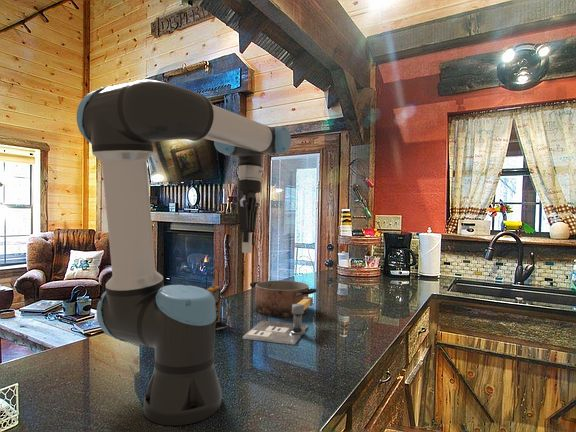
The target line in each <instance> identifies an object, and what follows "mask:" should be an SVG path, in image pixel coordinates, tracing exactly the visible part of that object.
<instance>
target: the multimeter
mask: <svg viewBox="0 0 576 432" xmlns="http://www.w3.org/2000/svg"><path fill="white" fill-rule="evenodd" d="M216 269H217V271H218V276H217V285H216V279H215V278H216V277H215V276H216V274H215V273H216V272H215V268H213V270H212V269H209V270H207V272H206V280H205V281H206V282H205V289H206V290H208V291H209V292H211V293H212V295H213V296H214V299H215V308H216V323H215V325H216V324H217V323H219V322H220V320H225V321H223V322H222V323H223V324H224V325H226V326H221V327H217V328H216V327H215V331H216V330H222V329H224V328H225V329H226V327H230V328H232V326H231V324H229V323H227V322H228V320H227V319H226V318H222V317H221V290H222V287H221V286H220V284H219V282H220V281H219V280H220V270H219V268H218V267H216ZM209 271H211V273H212V283H211V286H210V287H208V284H207V283H208V274H209Z"/></svg>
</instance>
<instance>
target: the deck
mask: <svg viewBox="0 0 576 432" xmlns="http://www.w3.org/2000/svg"><path fill="white" fill-rule="evenodd" d="M292 319H293V323H291V322H290V323H289V322H280V321H272V320H271V321H270V320H264V319H262V320H261V321H259V322H258V323H257V324H255V326H254V327H252V328H251V329H250V330H249V331H247V332H246V333H245V334H244V335H243V336H242V339H243V340H249V341H251V340H252V341H257V342H258V341H259V342H268V343H275V344H283V345H291V346H293V345H294V346H296V344H297V343H298V341H299V339H300V338H301V337H302V335H305V334H306V330H307V328H308V324H303V322H302V320H303V315H302V314H294V315H293V318H292ZM269 326H274V327H283V328H289V330H288V331H287V332H286V333H285V334H283V333H274V332H273V333H272V334H271V335H270V336H269V337H268V338H263V337H254V336H247V334H248V333H249V332H250V331H252V330H258V331H265V330H266V329H267V328H268V327H269Z"/></svg>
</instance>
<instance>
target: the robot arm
mask: <svg viewBox="0 0 576 432" xmlns="http://www.w3.org/2000/svg"><path fill="white" fill-rule="evenodd" d="M76 125H77V127H78V130H79V132H80V134H81V135H82V136H83V137H85V140H86V141H87V142H88V143H90V144H91V152H92V155H93V156H94V157H95V158H97V159H98V160H99V161H100V163H101V169H102V179H103V189H104V198H105V199H104V201H105V209H106V210H105V211H106V221H107V222H106V223H107V231H108V241H109V242H108V243H109V254H110V264H111V274H112V275H111V277H110V278H109V279H108V280H107V282H106V283H105V291H104V292H103V293H102V294H101V296H100V298H101V299H100V300H99V301H98V302H97V306H96V320H97V323H98V325H99V327H100V329H101V331H103V332H104V334H106V335H108V336H109V337H112V338H114V339H115V340H119V341H120V342H127V343H128V342H129V343H133V344H137V345H140V346H141V345H142V346H144V347H147V348H148V347H149V348H153V349H154V363H153V366H154V369H153V372H152V375H151V377H150V380H149V382H148V385H147V386H148V387H147V389H146V392H145V394H144V397H143V407H142V408H143V409H142V411H143V415H144V416H145V418H147V420H149V421H151V422H152V423H155V424H158V425H162V426H185V425H190V424H195V423H198V422H201V421H204V420H206V419H208V418H209V417H212V416H213V415H214V414H216V413H217V412H218V411H219V409H220V407H221V406H222V395H223V393H222V388H221V385H220V380H219V377H218V375H217V374H218V373H217V370H216V368H215V367H216V366H215V346H216V344H215V342H216V330H215V329H216V324H217V323H216V308H215V299H214V296H213V295H212V293H211V292H209V291H208V290H206V288H203V287H199V286H196V285H185V284H170V285H165V283H164V276H163V275H162V274H161V273H160V272H158V271H157V270H156V266H155V265H156V263H155V262H156V261H155V250H154V249H155V248H154V239H153V236H154V235H153V226H152V214H151V202H150V187H149V186H150V185H149V175H148V163H147V162H148V160H149V159H150V158H151V157H152V156H153V155H154V145H153V143H157V142H162V141H163V142H164V141H175V140H189V141H194V142H197V141H201V140H209V141H213V144H214V147H215V150H217V151H218V153H221V154H223V155H225V156H229V157H231V158H235V159H238V171H237V172H238V176H237V178H238V179H239V180H238V181H237V191H238V192H239V193H241V196H240V198H241V199H237V205H238V217H239V218H238V219H239V220H238V222H239V233H242V237H241V238H242V239H241V240H242V242H241V252H242V253H243V254H244V253H245V254H251V253H252V246H253V238H252V237H253V233H255V232H256V226H257V225H256V223H257V216H258V210H259V209H258V208H259V205H260V203H259V202H257V194H259V193H261V191H262V182H261V180H262V174H263V172H264V171H263V169H262V168H263V166H262V165H263V164H262V163H263V156H264V155H280V154H286V153H288V152H289V150H290V149H291V146H292V136H291V133H290V130H289V129H288V128H287V127H286V126H278V125H276V126H268V125H266V124H264V123H260V122H258V121H256V120H253V119H251V118H248V117H245V116H243V115H240V114H237V113H235V112H232V111H230V110H228V109H225V108H222V107H220V106H217V105H214V104H213V103H212V101H211V100H210V99H209V98H208V97H206V96H205V95H203V94H200V93H198V92H196V91H193V90H191V89H188V88H185V87H182V86H179V85H175V84H172V83H170V82H164V81H161V80H154V79H141V80H136V81H133V82H128V83H122V84H118V85H116V84H115V85H112V86H103V87H100V88H98V89H96V90H93V91H91V92H89V93H87V94H86V95H85V96H84V97H82V99H81V100H80V102H79V104H78V105H77V111H76ZM215 323H216V324H215Z"/></svg>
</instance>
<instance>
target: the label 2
mask: <svg viewBox="0 0 576 432" xmlns="http://www.w3.org/2000/svg"><path fill="white" fill-rule="evenodd" d="M288 330H289V328H283V327H274V326H269V327H268V328H267V329H266V330H265V331H267V332H274V333H283V334H285V333H286V332H287V331H288Z"/></svg>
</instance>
